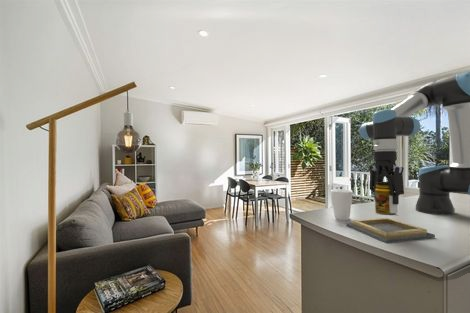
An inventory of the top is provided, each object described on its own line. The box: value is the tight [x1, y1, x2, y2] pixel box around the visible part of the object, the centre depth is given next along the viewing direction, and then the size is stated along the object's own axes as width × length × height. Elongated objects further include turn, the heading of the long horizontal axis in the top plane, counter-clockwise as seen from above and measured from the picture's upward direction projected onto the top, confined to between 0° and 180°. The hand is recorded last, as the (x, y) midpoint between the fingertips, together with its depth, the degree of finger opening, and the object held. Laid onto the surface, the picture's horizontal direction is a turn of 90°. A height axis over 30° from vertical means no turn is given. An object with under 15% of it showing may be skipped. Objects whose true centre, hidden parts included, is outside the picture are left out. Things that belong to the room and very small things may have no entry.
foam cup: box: [330, 188, 354, 221], centre depth 109 cm, size 10×9×13 cm
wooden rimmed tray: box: [345, 217, 436, 244], centre depth 89 cm, size 20×20×2 cm
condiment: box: [372, 181, 399, 217], centre depth 90 cm, size 7×8×12 cm
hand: (386, 210), depth 89 cm, fingers closed on condiment, 6 cm apart
